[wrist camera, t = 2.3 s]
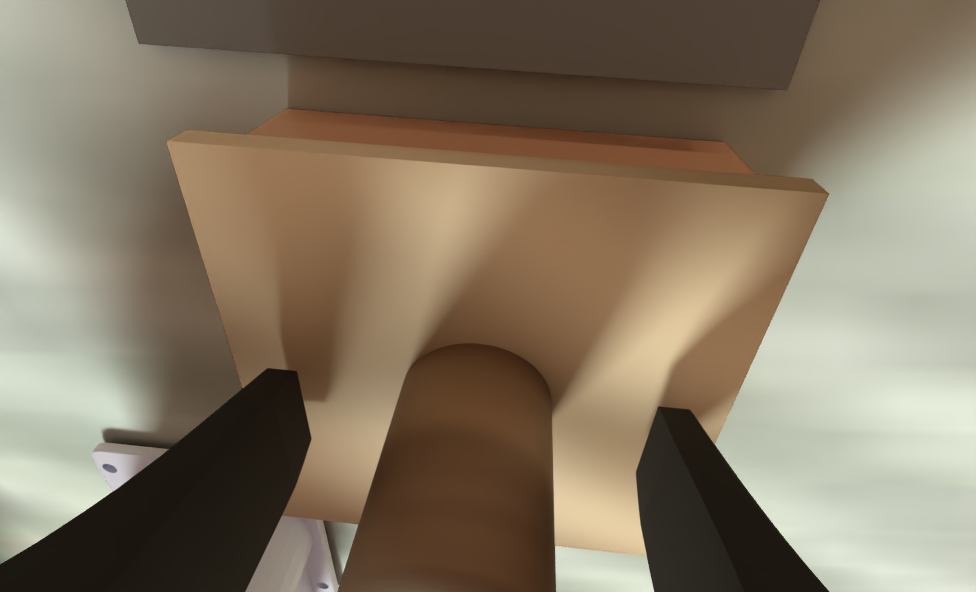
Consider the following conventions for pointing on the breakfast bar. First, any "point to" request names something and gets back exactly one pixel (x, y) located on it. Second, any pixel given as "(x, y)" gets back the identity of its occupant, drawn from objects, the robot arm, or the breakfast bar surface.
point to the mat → (507, 34)
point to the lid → (485, 334)
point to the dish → (504, 140)
